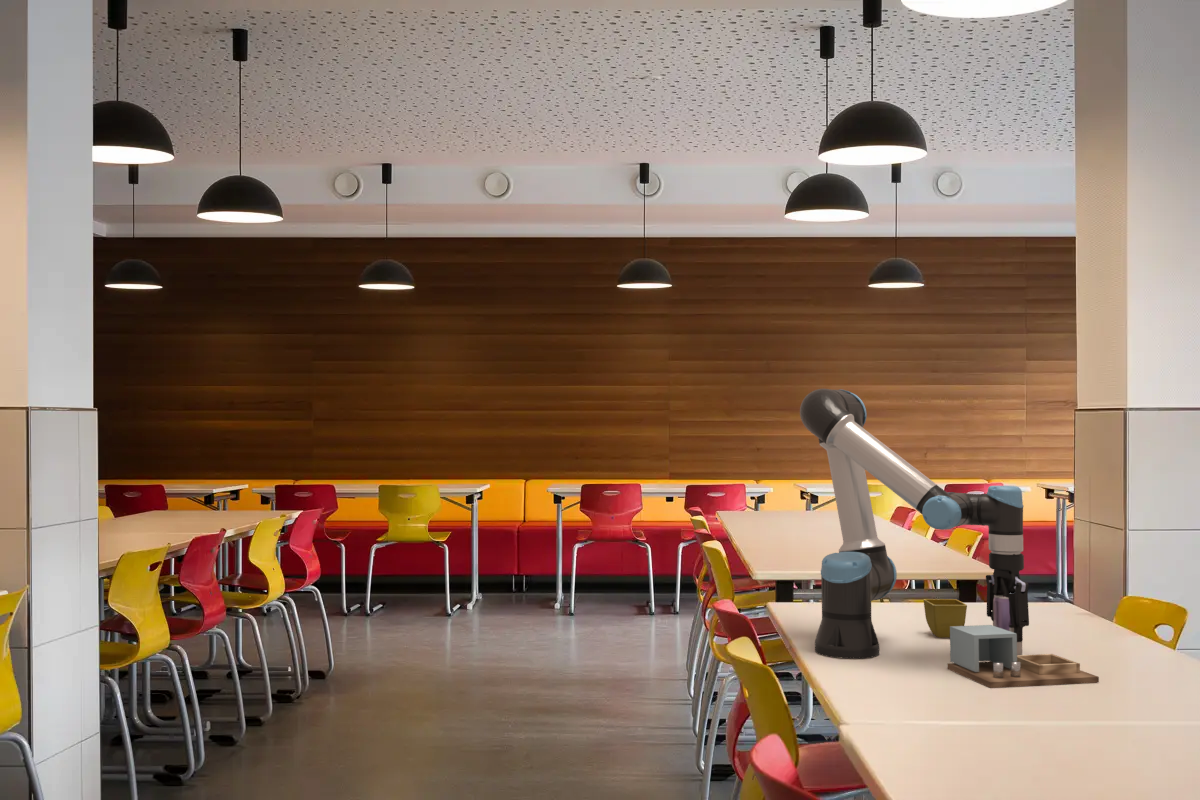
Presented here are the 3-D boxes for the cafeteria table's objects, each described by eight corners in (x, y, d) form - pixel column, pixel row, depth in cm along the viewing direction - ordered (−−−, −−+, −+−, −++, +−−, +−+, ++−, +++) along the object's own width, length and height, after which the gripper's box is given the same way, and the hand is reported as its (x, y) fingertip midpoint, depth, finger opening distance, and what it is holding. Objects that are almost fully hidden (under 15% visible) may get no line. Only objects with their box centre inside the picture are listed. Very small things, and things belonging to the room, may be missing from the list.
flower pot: (968, 640, 251) (967, 604, 252) (933, 640, 251) (933, 604, 252) (956, 633, 260) (956, 598, 260) (923, 633, 260) (922, 598, 261)
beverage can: (1024, 664, 225) (1023, 597, 225) (997, 662, 226) (995, 597, 226) (1019, 658, 230) (1017, 593, 231) (992, 657, 232) (991, 593, 232)
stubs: (996, 678, 206) (996, 664, 207) (991, 676, 208) (991, 662, 208) (1022, 677, 207) (1022, 662, 208) (1017, 675, 209) (1016, 660, 210)
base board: (990, 688, 203) (990, 672, 204) (947, 668, 220) (947, 654, 220) (1098, 682, 208) (1098, 667, 208) (1048, 664, 224) (1048, 650, 225)
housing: (974, 671, 211) (974, 635, 211) (950, 661, 221) (949, 626, 221) (1017, 669, 213) (1016, 633, 213) (991, 659, 223) (990, 624, 223)
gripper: (1045, 556, 220) (1047, 661, 220) (997, 547, 239) (999, 643, 238) (1015, 557, 219) (1017, 662, 218) (969, 548, 238) (970, 644, 237)
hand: (1007, 652), depth 228 cm, fingers closed on beverage can, 6 cm apart
